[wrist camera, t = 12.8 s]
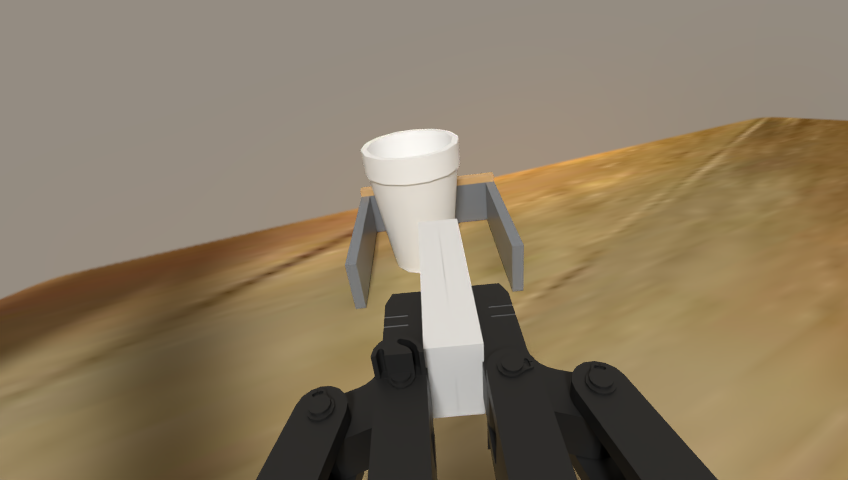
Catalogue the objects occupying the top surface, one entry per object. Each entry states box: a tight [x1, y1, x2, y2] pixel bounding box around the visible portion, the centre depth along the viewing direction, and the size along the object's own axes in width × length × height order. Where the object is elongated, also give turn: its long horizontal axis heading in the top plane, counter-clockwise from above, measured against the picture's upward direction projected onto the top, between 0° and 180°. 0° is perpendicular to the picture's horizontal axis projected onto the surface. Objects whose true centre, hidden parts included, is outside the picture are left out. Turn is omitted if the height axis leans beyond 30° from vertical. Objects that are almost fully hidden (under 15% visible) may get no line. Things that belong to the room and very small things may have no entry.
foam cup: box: [361, 129, 460, 273], centre depth 43 cm, size 10×9×13 cm
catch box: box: [345, 172, 524, 309], centre depth 45 cm, size 16×16×6 cm
